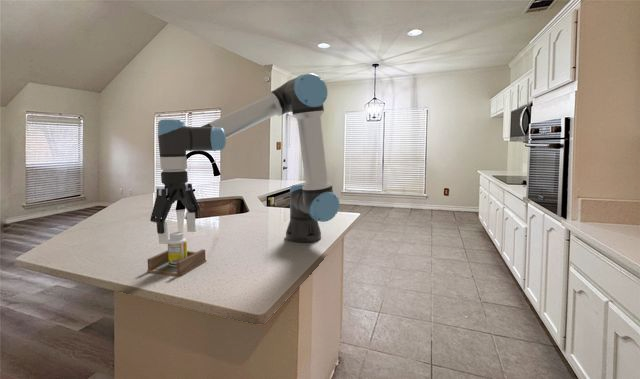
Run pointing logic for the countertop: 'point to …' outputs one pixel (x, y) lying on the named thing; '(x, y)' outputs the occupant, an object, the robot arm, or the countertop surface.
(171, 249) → the supplement bottle
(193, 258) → the u rest
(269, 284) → the countertop surface
